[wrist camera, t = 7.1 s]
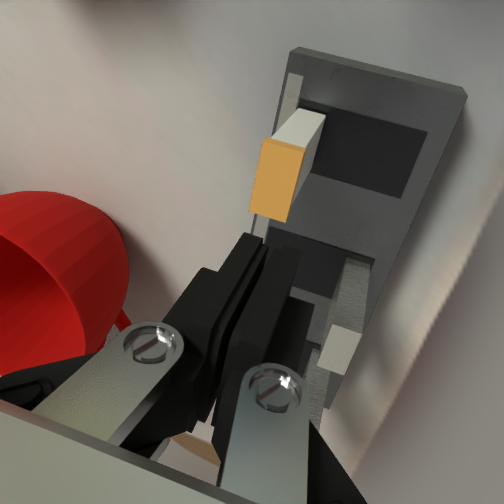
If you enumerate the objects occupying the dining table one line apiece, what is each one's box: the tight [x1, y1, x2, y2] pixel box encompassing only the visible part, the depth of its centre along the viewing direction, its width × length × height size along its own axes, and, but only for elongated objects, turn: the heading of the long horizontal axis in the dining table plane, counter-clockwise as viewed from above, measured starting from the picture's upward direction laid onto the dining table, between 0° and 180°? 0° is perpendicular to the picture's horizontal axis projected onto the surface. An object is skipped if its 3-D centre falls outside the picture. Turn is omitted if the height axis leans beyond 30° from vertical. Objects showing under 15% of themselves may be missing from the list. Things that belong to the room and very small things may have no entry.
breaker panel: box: [250, 47, 468, 432], centre depth 26 cm, size 24×9×9 cm, turn 169°
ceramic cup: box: [0, 191, 132, 376], centre depth 32 cm, size 13×17×10 cm
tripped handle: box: [249, 108, 326, 223], centre depth 21 cm, size 3×2×7 cm, turn 169°
